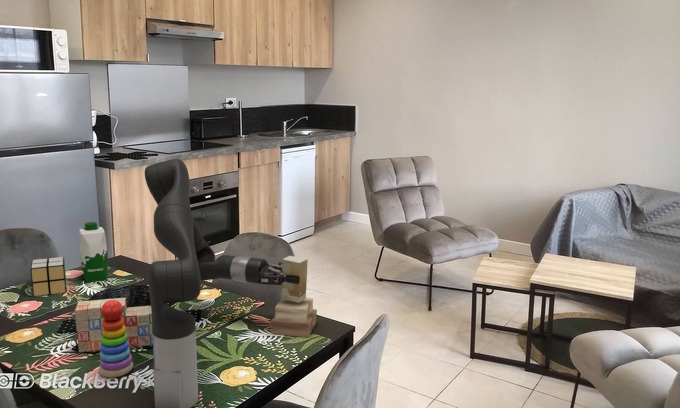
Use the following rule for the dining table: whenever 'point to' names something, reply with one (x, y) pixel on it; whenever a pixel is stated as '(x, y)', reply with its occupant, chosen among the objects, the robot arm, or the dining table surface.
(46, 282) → the puzzle cube
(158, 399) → the robot arm
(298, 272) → the skincare box
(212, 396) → the dining table surface
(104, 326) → the stacking toy
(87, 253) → the milk carton
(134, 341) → the stack of blocks
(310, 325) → the stepped wooden pedestal
